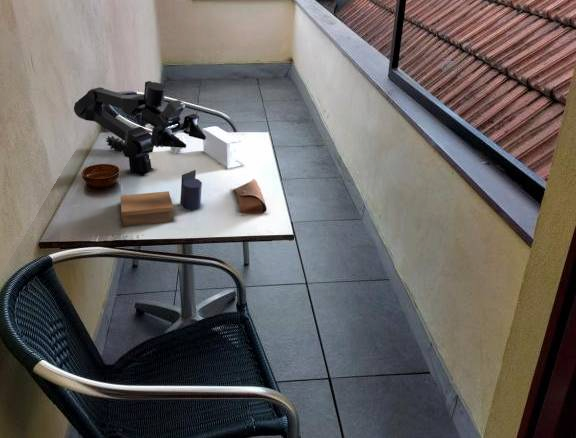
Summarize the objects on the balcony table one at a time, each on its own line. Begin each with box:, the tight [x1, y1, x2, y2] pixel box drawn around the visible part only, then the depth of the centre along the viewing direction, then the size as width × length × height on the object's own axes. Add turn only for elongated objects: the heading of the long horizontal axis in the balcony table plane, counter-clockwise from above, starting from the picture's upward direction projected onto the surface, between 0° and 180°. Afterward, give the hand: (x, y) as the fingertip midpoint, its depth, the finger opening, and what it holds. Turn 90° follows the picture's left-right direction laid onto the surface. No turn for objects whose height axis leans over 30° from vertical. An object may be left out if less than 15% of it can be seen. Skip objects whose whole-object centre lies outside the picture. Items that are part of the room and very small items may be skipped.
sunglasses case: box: [232, 178, 268, 215], centre depth 169 cm, size 18×7×7 cm
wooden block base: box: [119, 190, 175, 227], centre depth 160 cm, size 15×14×4 cm
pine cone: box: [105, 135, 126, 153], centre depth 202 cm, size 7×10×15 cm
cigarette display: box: [202, 125, 242, 170], centre depth 198 cm, size 20×6×9 cm, turn 34°
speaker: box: [179, 169, 203, 211], centre depth 163 cm, size 8×6×10 cm
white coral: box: [169, 135, 186, 154], centre depth 203 cm, size 7×8×6 cm
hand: (195, 142), depth 168 cm, fingers open, 9 cm apart
